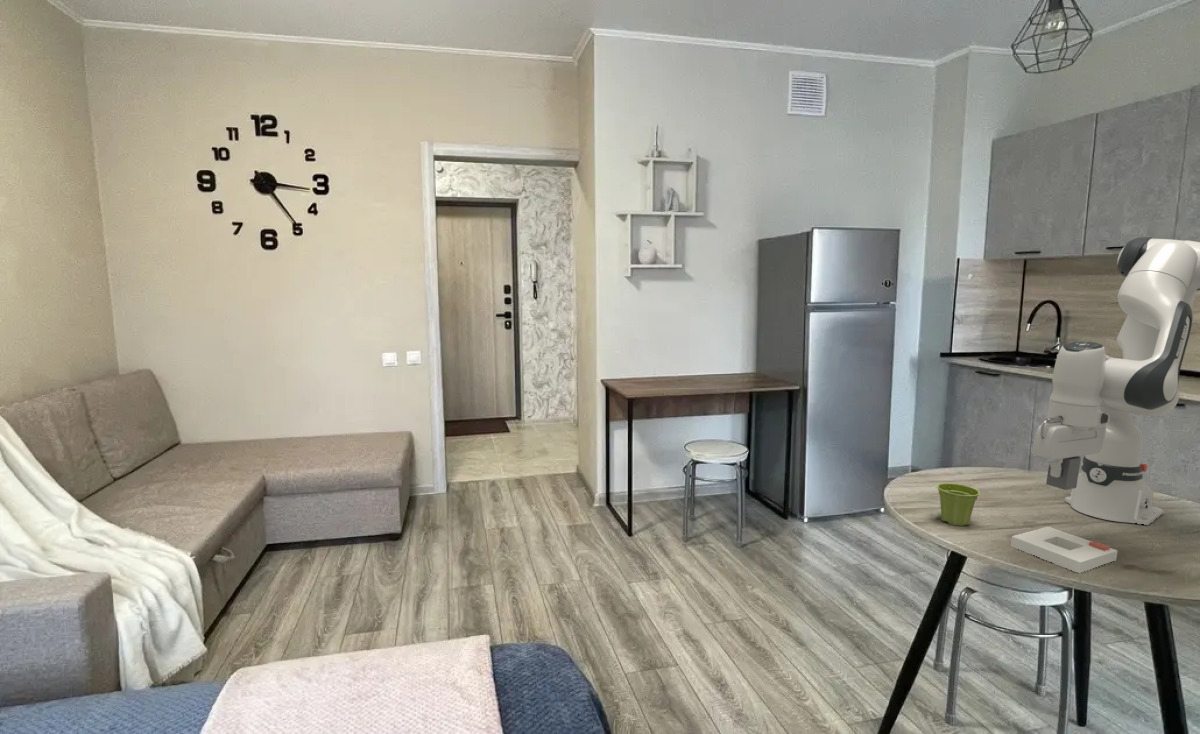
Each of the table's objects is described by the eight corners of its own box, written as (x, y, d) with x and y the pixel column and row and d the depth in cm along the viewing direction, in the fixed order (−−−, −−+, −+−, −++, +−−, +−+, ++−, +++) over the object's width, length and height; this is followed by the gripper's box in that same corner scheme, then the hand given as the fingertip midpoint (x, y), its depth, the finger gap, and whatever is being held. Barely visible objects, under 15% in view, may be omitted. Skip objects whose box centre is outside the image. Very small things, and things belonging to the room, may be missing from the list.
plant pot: (931, 512, 159) (934, 480, 158) (972, 517, 155) (975, 485, 154) (936, 525, 150) (940, 492, 149) (980, 531, 147) (983, 497, 146)
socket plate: (1046, 536, 144) (1048, 523, 144) (1116, 561, 132) (1117, 547, 131) (1010, 546, 139) (1012, 533, 138) (1079, 573, 126) (1081, 559, 125)
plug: (1056, 482, 138) (1061, 452, 137) (1076, 487, 134) (1080, 457, 133) (1046, 484, 136) (1050, 454, 135) (1065, 490, 132) (1070, 459, 131)
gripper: (1059, 421, 125) (1050, 484, 127) (1114, 415, 134) (1105, 474, 136) (1028, 415, 131) (1019, 475, 133) (1082, 409, 139) (1074, 466, 141)
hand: (1063, 475), depth 135 cm, fingers closed on plug, 4 cm apart
